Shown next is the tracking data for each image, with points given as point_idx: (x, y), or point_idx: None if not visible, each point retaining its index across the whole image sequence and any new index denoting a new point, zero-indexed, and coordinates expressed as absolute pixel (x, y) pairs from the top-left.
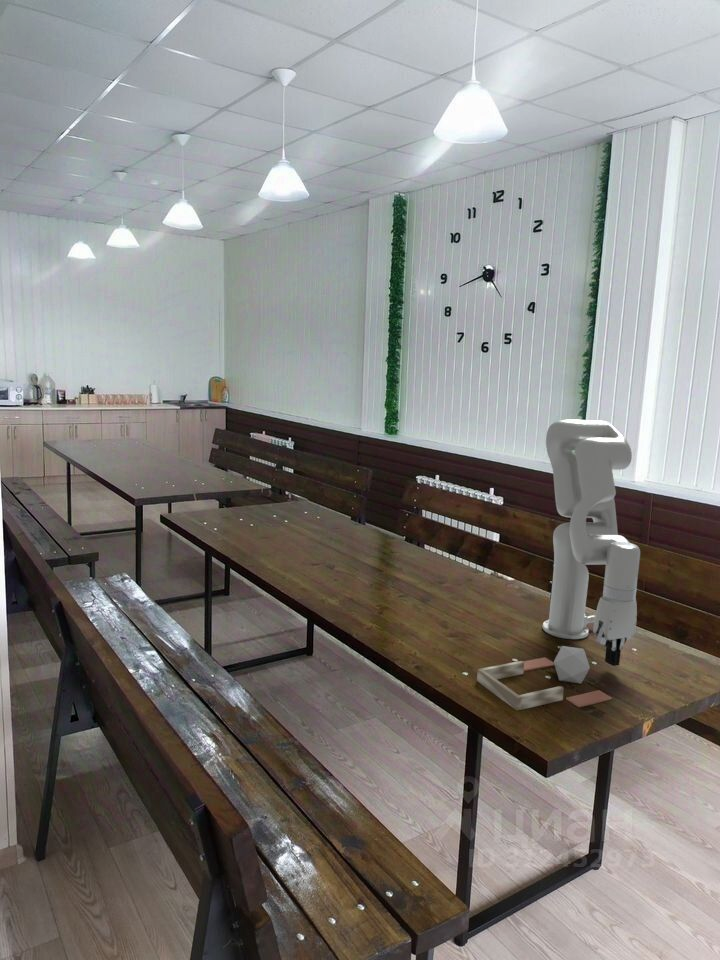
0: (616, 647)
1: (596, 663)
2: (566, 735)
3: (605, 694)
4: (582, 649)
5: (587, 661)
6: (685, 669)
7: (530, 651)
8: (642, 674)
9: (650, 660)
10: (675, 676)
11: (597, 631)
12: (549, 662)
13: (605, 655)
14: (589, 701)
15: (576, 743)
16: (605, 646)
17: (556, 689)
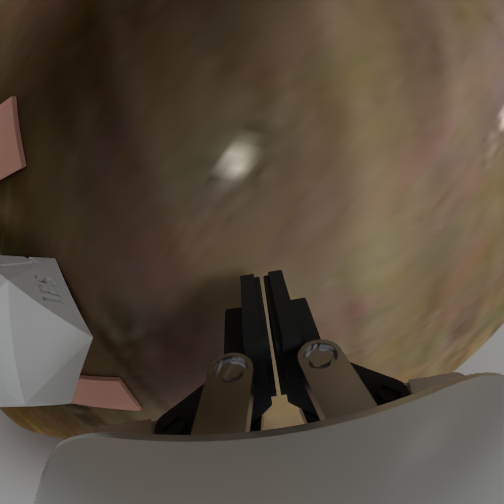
0: (288, 396)
1: (245, 173)
2: (37, 422)
3: (128, 398)
4: (19, 403)
5: (55, 404)
6: (496, 296)
7: (10, 28)
8: (374, 316)
9: (488, 220)
10: (444, 333)
11: (110, 449)
12: (6, 155)
13: (241, 294)
14: (78, 400)
15: (50, 434)
16: (214, 371)
17: None
